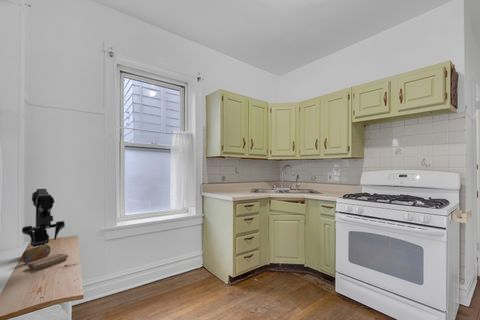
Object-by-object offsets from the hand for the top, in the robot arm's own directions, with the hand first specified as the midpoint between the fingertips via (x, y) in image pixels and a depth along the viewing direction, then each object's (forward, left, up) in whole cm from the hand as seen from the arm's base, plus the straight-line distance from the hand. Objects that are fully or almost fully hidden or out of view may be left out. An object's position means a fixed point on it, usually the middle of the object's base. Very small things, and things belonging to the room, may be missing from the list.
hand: (44, 242), depth 136 cm
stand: (-1, +3, -14) cm, 14 cm away
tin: (-13, +5, -14) cm, 20 cm away
